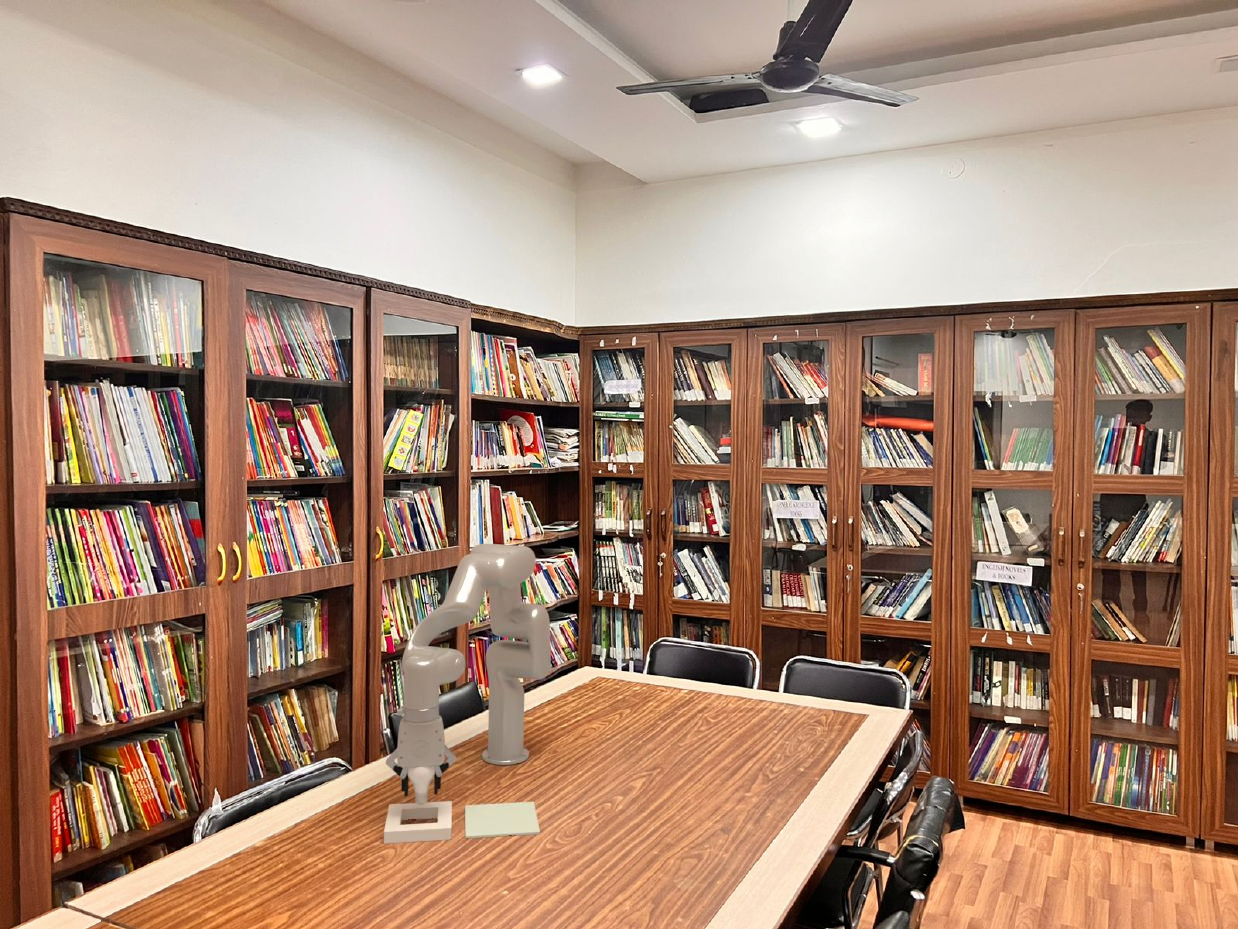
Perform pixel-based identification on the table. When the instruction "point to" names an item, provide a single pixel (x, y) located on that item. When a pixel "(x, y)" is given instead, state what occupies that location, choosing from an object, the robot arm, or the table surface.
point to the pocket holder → (418, 831)
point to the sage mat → (500, 820)
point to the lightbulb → (421, 782)
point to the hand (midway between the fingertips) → (421, 792)
